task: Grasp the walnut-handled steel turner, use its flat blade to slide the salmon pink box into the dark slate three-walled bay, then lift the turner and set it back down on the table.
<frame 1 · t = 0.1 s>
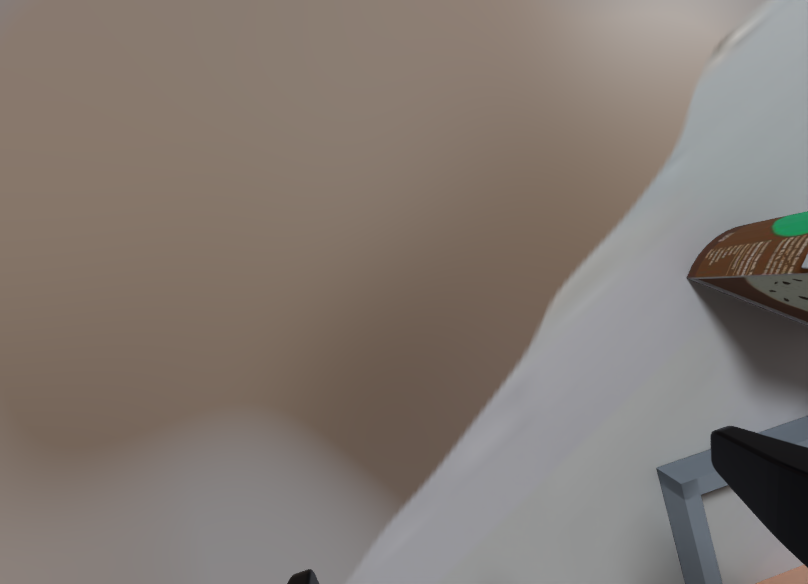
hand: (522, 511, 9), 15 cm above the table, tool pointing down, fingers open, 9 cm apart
food container: (765, 257, 26), on the table
bay: (758, 504, 27), on the table
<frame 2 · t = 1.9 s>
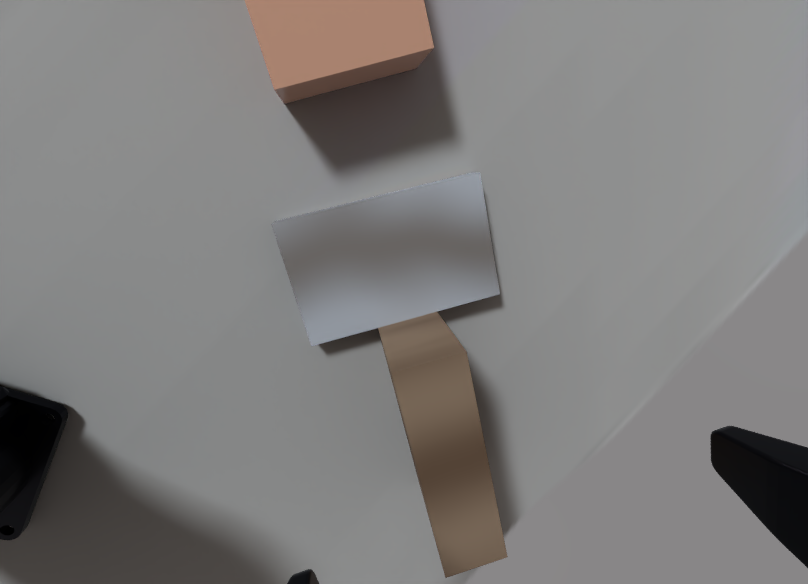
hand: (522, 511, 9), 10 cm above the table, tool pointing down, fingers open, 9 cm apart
turner: (427, 409, 20), on the table
salmon pink box: (329, 11, 15), on the table
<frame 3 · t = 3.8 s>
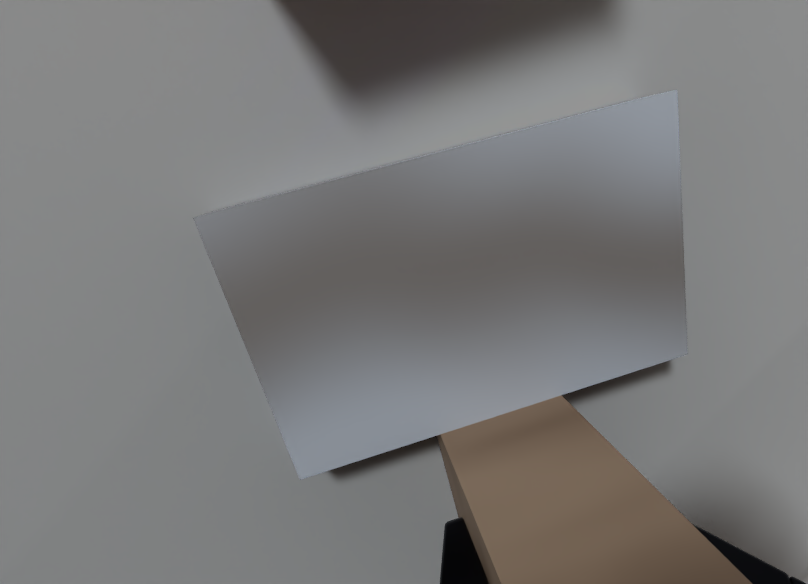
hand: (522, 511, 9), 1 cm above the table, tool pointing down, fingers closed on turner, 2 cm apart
turner: (520, 556, 11), on the table, touching gripper
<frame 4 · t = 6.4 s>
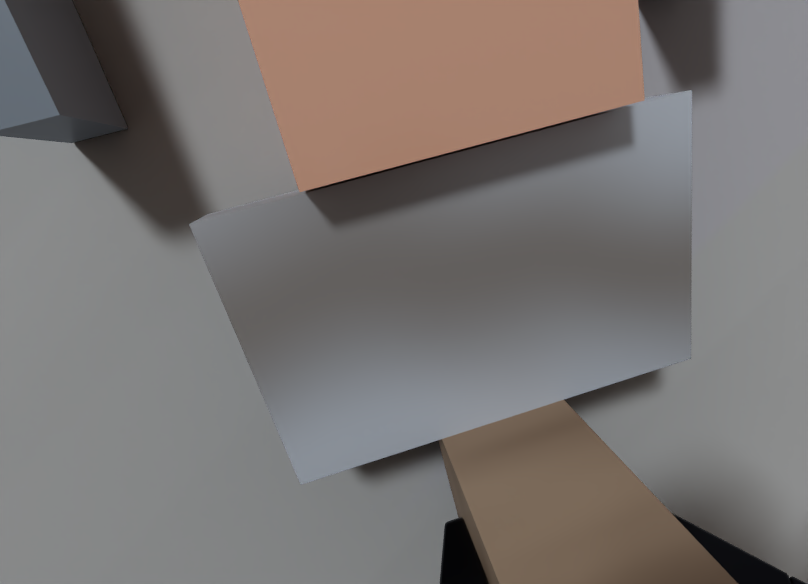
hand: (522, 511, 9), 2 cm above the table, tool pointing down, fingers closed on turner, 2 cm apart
turner: (518, 552, 11), point 1 cm above the table, touching gripper, salmon pink box
salmon pink box: (400, 16, 8), on the table, touching turner
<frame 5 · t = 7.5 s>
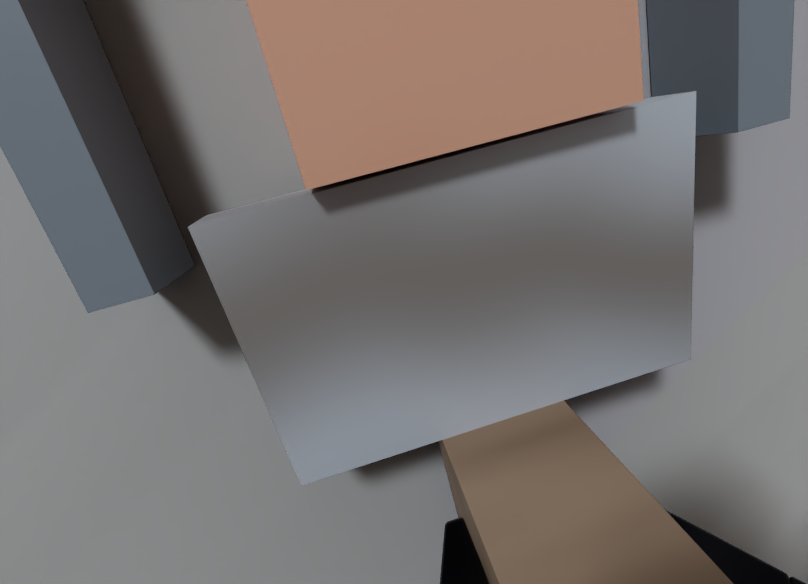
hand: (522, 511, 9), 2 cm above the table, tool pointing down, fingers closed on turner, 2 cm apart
turner: (516, 548, 11), point 1 cm above the table, touching gripper
salmon pink box: (403, 16, 8), on the table
bay: (393, 9, 8), on the table
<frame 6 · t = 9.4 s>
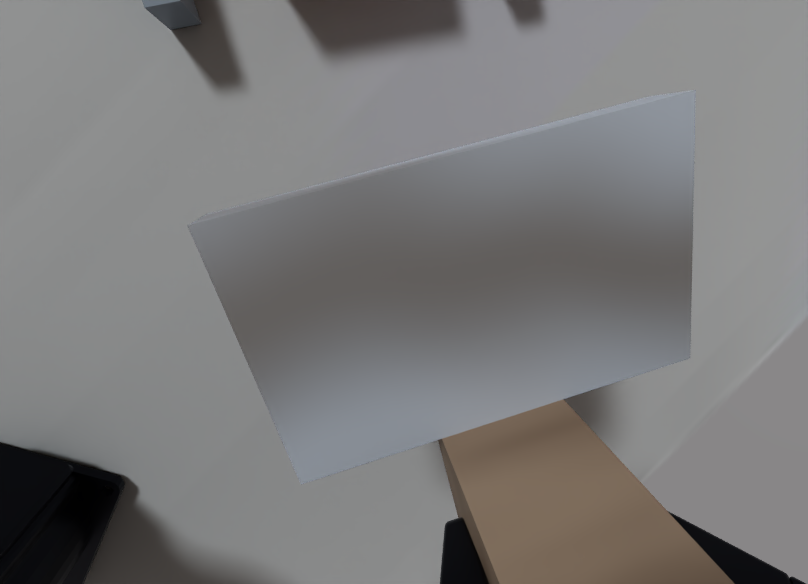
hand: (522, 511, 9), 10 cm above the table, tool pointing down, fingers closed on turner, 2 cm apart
turner: (516, 548, 11), point 9 cm above the table, touching gripper
when the fingers open (2 cm above the table, at t = 11.3 s): turner drops 1 cm, on the table.
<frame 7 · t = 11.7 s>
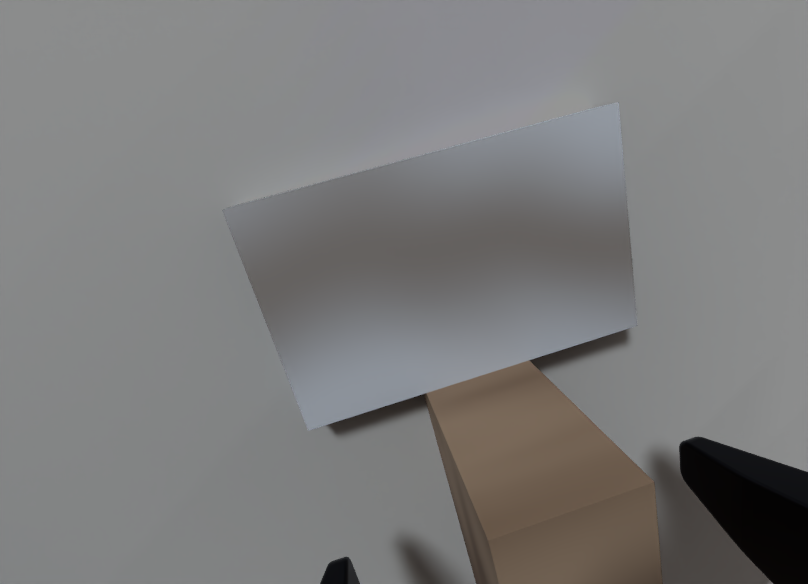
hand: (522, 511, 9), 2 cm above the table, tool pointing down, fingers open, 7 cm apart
turner: (500, 508, 12), on the table
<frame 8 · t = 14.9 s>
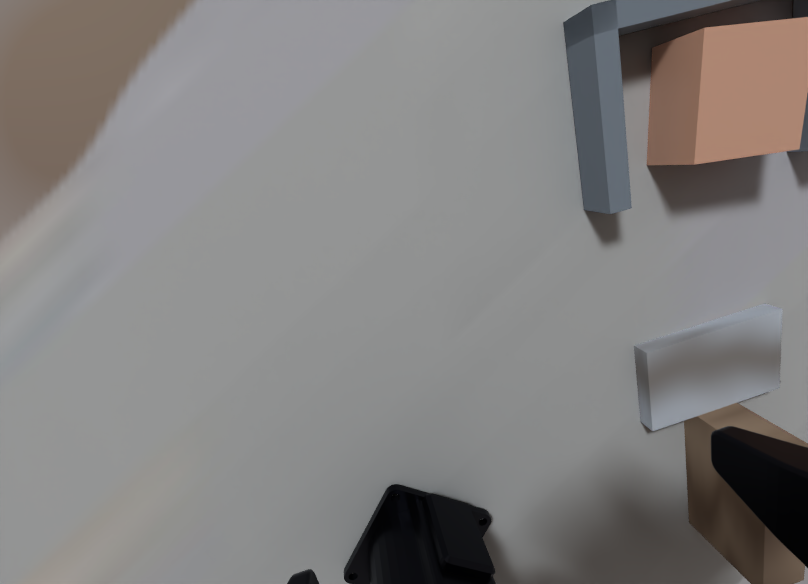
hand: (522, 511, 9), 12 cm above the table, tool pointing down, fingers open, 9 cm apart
turner: (704, 467, 26), on the table
salmon pink box: (694, 103, 20), on the table
bay: (695, 101, 20), on the table
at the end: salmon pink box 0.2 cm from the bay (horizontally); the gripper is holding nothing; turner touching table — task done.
